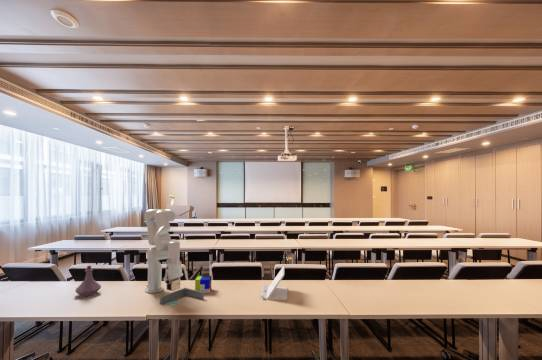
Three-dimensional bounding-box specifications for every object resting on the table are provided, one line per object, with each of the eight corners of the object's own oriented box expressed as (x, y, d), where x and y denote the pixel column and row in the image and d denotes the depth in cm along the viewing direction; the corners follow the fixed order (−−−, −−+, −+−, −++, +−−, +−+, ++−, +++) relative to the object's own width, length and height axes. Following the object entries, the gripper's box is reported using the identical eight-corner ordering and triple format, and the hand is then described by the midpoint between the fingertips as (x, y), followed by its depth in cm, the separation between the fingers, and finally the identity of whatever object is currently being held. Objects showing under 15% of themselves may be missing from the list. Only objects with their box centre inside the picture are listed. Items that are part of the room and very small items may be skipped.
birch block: (166, 289, 184) (166, 280, 184) (173, 287, 189) (174, 277, 189) (172, 291, 180) (172, 281, 181) (180, 288, 186) (180, 279, 186)
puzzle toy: (209, 293, 204) (209, 279, 204) (195, 294, 203) (195, 279, 204) (211, 289, 214) (211, 275, 214) (197, 289, 213) (198, 275, 214)
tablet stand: (287, 288, 216) (287, 265, 217) (287, 300, 191) (287, 274, 192) (263, 287, 217) (263, 265, 218) (260, 299, 192) (260, 274, 193)
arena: (159, 304, 183) (160, 296, 184) (185, 294, 201) (185, 287, 202) (179, 310, 174) (179, 302, 174) (203, 299, 192) (203, 292, 192)
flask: (79, 300, 191) (80, 270, 192) (70, 295, 201) (71, 266, 202) (105, 293, 204) (106, 265, 205) (96, 289, 214) (96, 262, 215)
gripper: (166, 263, 176) (166, 293, 175) (187, 258, 191) (187, 285, 190) (158, 262, 180) (158, 291, 179) (180, 257, 195) (179, 284, 194)
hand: (173, 288), depth 185 cm, fingers closed on birch block, 6 cm apart
